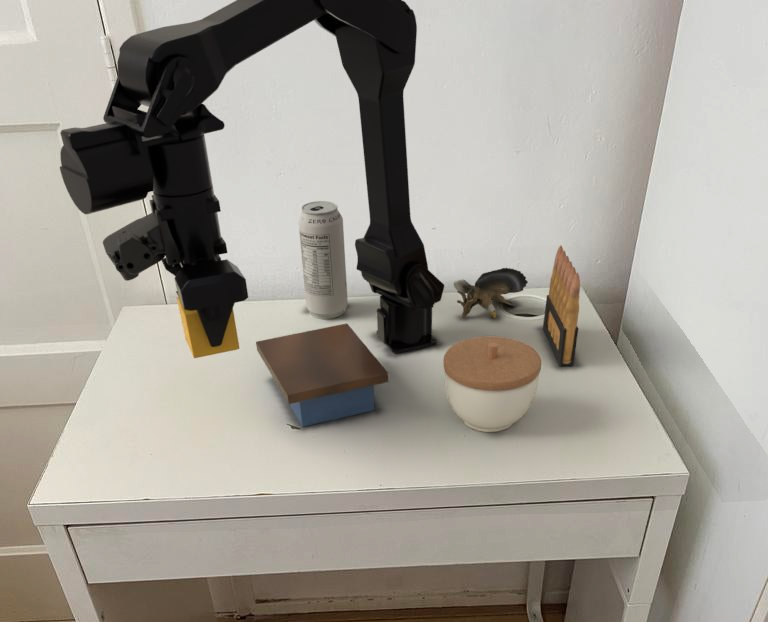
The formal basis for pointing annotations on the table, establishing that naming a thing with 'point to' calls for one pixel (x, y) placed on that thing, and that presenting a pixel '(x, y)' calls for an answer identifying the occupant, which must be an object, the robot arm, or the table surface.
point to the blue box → (334, 406)
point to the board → (320, 363)
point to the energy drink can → (323, 259)
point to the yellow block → (199, 338)
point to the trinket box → (491, 381)
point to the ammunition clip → (562, 310)
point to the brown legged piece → (490, 289)
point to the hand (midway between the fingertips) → (210, 335)
